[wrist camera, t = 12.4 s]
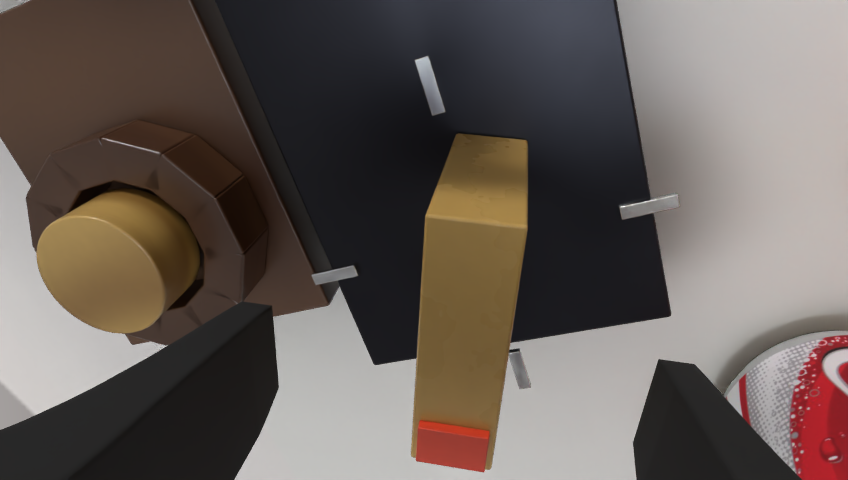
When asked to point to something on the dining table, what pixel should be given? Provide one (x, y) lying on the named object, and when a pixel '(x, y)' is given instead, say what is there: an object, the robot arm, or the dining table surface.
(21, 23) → the block
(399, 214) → the plate
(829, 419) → the soda can
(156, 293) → the button
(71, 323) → the dining table surface
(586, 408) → the dining table surface
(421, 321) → the tan block
